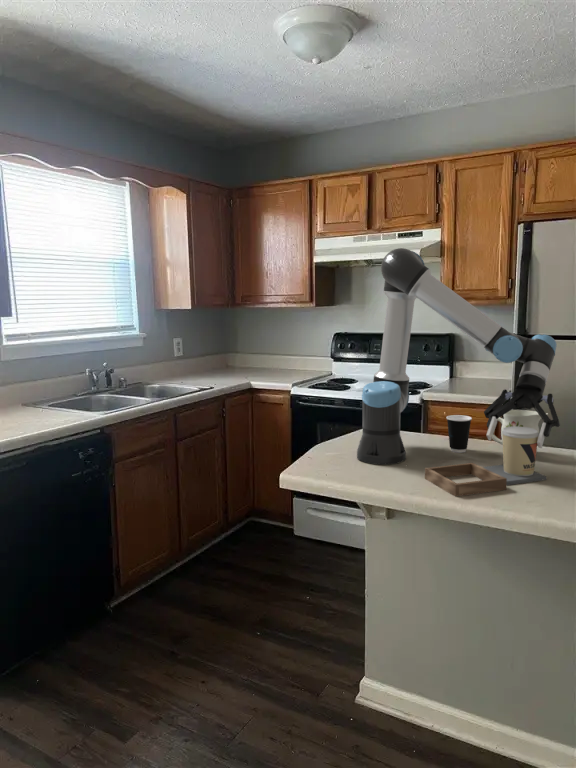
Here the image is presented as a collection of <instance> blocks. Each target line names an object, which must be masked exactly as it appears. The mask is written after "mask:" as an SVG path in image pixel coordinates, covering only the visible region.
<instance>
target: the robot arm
mask: <svg viewBox="0 0 576 768" xmlns="http://www.w3.org/2000/svg"><path fill="white" fill-rule="evenodd" d="M380 266H381V267H380V270H381V275H382V277H383V279H384V285H383V293H384V295H386V299H387V301H386V309H385V317H384V325H383V333H382V334H383V335H382V345H381V351H380V360H379V367H378V368H379V370H378V371H376V372H375V373H374V374H373V381H372V382H369V383H367V384H365V385H364V386H363V388H362V394H361V400H362V401H361V404H362V406H361V407H362V410H361V411H362V416H361V417H362V425H361V426H362V434H361V437H360V439H359V443H358V445H357V449H356V457H357V458H356V459H357V460H358V461H360V462H363V463H367V464H370V465H371V464H372V465H394V464H399V463H402V462H405V460H406V457H407V455H406V454H407V453H406V448H405V446H404V441H403V439H402V435H401V413H402V412H403V411H404V410H405V409H406V408H407V406H408V404H409V401H410V395H409V394H410V393H409V386H410V377H409V376H408V374H407V373H406V370H407V365H408V355H409V347H410V339H411V332H412V323H413V317H414V316H413V315H414V307H415V300H416V299H418V300H419V301H421V302H423V304H425V305H426V306H428V307H429V308H430V309H432V311H434V312H436V313H437V314H438V315H440V317H442V318H444V319H445V320H447V321H448V322H449V323H451V324H452V325H453V326H455V327H456V328H457V329H459V330H460V331H461V332H463V333H464V334H466V335H467V336H468V337H470V338H471V339H472V340H473V341H475V342H476V343H477V344H479V345H480V346H481V347H483V348H484V349H485V351H487V352H488V353H490V354H492V355H493V356H494V358H495V359H497V360H498V361H499V362H501V363H506V364H509V363H514V362H515V361H517V362H519V363H523V365H522V367H521V370H520V373H519V377H518V379H517V382H516V385H515V389H514V391H512V392H511V391H508V389H505V388H504V389H503V390H502V391H501V394H500V395H499V396H498V397H497V398H496V399H495V400H494V401H492V403H490V405H489V406H488V407H487V408H486V409H484V411H483V414H484V416H485V418H486V419H487V422H486V427H487V431H486V438H487V440H488V441H492V440H493V439H492V436H493V434H495V429H496V427H497V424H498V421H497V420H496V419H498V418H499V417H500V418H502V416H503V415H504V414H505V413H507V412H509V411H510V410H516V409H517V408H519V409H527V410H532V409H534V411H536V412H537V413H538V414H539V415H540V417H541V420H542V421H543V422H542V424H541V428H540V429H539V437H538V441H537V448H540V449H542V448H543V444H544V441H545V438H549V437H550V434H551V431H552V428H553V427H556V428H559V427H560V426H561V423H560V420H559V417H558V414H557V411H556V409H555V406H554V401H555V400H554V396H553V393H548V394H547V395H544V392H545V389H546V386H547V385H546V384H547V382H548V378H549V375H550V370H551V368H552V364H553V363H554V358H555V356H556V350H557V342H556V340H555V339H554V338H553V337H552V336H551V335H548V334H535V335H534V336H532V337H531V338H528V337H525V336H521V335H519V334H516V333H512V332H509V331H508V330H507V329H506V328H504V327H503V326H501V325H500V324H499V323H497V321H495V320H493V319H492V318H491V317H489V316H488V315H486V314H485V313H483V312H482V311H481V310H479V308H477V307H476V306H474V305H473V304H471V303H470V302H469V301H467V300H466V299H465V298H463V297H462V296H461V295H459V294H458V293H456V292H455V291H454V290H452V289H451V288H450V287H448V286H447V285H446V284H444V283H443V282H442V281H440V280H439V279H437V278H436V277H435V276H433V275H432V273H431V269H430V268H429V267H427V266H426V264H425V263H424V260H423V258H422V257H421V256H420V255H419V253H416V252H415V251H413V250H410V249H407V248H404V247H403V248H401V247H400V248H394V249H392V250H390V251H389V252H388V253H387V254H386V255H385V256H384V257H383V259H382V261H381V265H380ZM507 401H508V402H507ZM543 401H544V403H546V404H547V406H548V409H549V411H550V414H551V417H552V419H551V418H550V417H549V416H548V415H546V413H547V412H546V411H545V410H544V409H543V408H542V406H541V405H540V404H541V402H543Z"/></svg>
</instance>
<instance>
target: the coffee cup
mask: <svg viewBox="0 0 576 768" xmlns="http://www.w3.org/2000/svg"><path fill="white" fill-rule="evenodd" d="M502 434H503V445H502V457H503V458H502V459H503V464H504V472H505V473H507V474H510V475H515V476H530V475H533V473H534V471H535V465H536V458H537V450H538V444H537V441H538V436H539V434H540V432H539V433H538V431H537V430H536V429H533V428H528V427H519V426H512V427H506V428H504V429H503V431H502Z"/></svg>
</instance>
